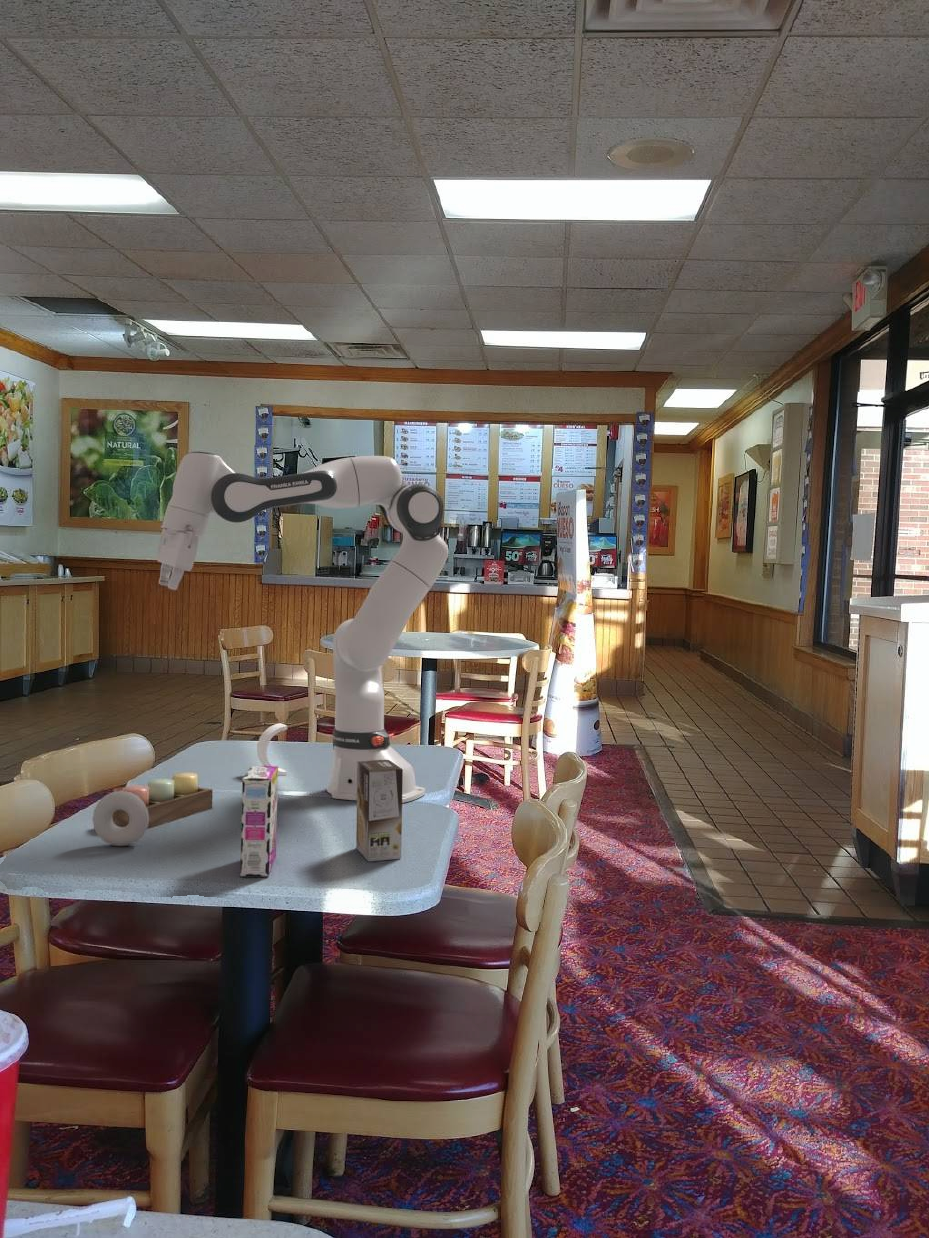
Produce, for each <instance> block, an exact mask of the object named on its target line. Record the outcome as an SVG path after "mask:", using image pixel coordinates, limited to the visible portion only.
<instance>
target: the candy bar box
mask: <svg viewBox="0 0 929 1238" xmlns="http://www.w3.org/2000/svg"><path fill="white" fill-rule="evenodd" d="M278 768H279V766H276V765H275V766H274V765H271V766H263V765H251V767H250V768H249V770H247V772H246V773H245V775H244V776H243V777H242V779H241V780H242V785H241V786H242V787H241V788H242V789H241V791H242V792H241V796H242V797H241V833H240V835H241V836H240V837H241V839H240V841H241V842H240V875H239V876H240V877H241V878H268V877H270V874H271V871H272V868H273V865H274V862H275V861H276V860H275V859H276V857H277V830H278V829H277V826H278V825H277V823H278V822H277V821H278V818H277V817H278V791H279V790H278V788H279V787H278V786H279V785H278V783H279V780H278V779H279V778H278V777H279V776H278Z"/></svg>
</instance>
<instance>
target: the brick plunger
mask: <svg viewBox="0 0 929 1238" xmlns="http://www.w3.org/2000/svg"><path fill="white" fill-rule="evenodd" d="M121 791H126V792H131V793H133V794H135V795H137V796H138V797H139V798H140V799H141V800H142V801H143V802H144V803H145V805H146V807H147V806H149V787H148V785H127V786H124V787H122V788H121Z"/></svg>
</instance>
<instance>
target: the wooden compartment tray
mask: <svg viewBox="0 0 929 1238" xmlns="http://www.w3.org/2000/svg"><path fill="white" fill-rule="evenodd" d="M147 809H148V813H149V823H148V827H147V829H151V828H155V827H157V826H161V825H164V824H167V823H170V822H173V821H177V820H180V819H183V818H186V817H189V816H192V815H196V814H200V813H202V812H205V811H208V810H211V809H213V788H208V787H207V788H206V787H199V786H198V792H196V793H193V794H189V795H180V794H174V799H172V800H168V801H165V802H155V801H150V800H149V806H147ZM112 819H113V822H114V824H115V825H116V826H118V827H125V826H127V825H128V824H129V821H130V818H129V815H128V813H127V812H126V811H124V810H117V811H115V812H114V813H113V816H112ZM147 829H146V830H147Z"/></svg>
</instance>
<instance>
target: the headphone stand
mask: <svg viewBox="0 0 929 1238" xmlns="http://www.w3.org/2000/svg"><path fill="white" fill-rule="evenodd" d="M287 730H288V725H285V724H284V723H275V724H274V725H270V726H269V727H267V729H265V730H264V731H263V733H262V734H261V736H260V737H259V739H258V740H257V741H258V742H257V747H256V753H257V754H256V755H257V757H258V760H259V762H260V764H261V765H262V766H272V765H271V763H270V762H269V759H268V755H267V754H268V753H267V750H268V746H269V744H270V741H271V740H272V739H273V737H274V736H275V735H277V734H278V733H279V732H280V733H281V732H283V731H287ZM287 775H288V771H287V770H284V769H283V768H281V767H280V768H279V767H278V777H282V776H283V777H284V776H287Z"/></svg>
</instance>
